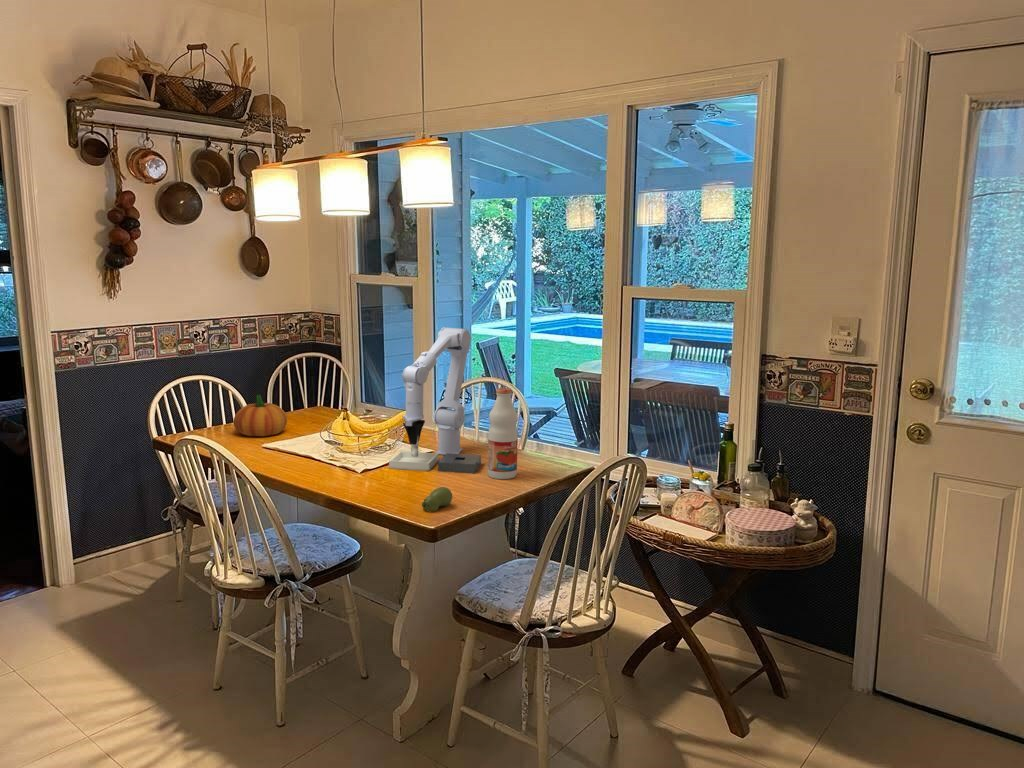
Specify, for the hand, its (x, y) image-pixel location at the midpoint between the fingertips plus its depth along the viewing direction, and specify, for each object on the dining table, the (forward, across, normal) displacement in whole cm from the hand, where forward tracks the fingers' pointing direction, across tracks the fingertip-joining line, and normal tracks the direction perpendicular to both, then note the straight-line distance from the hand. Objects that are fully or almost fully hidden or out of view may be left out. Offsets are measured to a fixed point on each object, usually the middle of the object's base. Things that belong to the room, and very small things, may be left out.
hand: (414, 443), depth 257 cm
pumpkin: (+8, -30, -68) cm, 75 cm away
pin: (+4, 0, 0) cm, 4 cm away
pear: (+8, +42, +18) cm, 46 cm away
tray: (+7, 0, 0) cm, 7 cm away
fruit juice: (+8, +6, +30) cm, 32 cm away
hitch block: (+7, 0, +16) cm, 17 cm away
